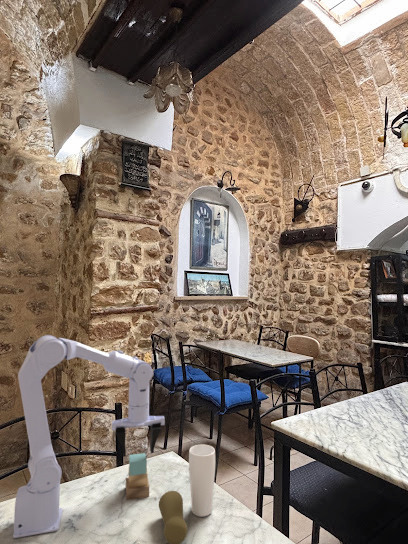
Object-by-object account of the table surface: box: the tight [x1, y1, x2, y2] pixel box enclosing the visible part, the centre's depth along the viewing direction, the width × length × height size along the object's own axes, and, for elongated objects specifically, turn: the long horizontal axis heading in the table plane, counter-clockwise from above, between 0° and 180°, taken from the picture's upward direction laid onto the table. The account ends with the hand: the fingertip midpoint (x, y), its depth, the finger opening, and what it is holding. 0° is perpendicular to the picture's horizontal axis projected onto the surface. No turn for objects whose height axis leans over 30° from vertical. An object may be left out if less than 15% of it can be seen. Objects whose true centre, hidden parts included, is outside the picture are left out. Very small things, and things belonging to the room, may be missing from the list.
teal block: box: [128, 452, 148, 476], centre depth 94 cm, size 4×4×4 cm
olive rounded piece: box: [158, 490, 188, 544], centre depth 78 cm, size 6×6×11 cm
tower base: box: [125, 476, 150, 501], centre depth 93 cm, size 6×6×3 cm
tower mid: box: [128, 471, 148, 487], centre depth 93 cm, size 5×5×3 cm
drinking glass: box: [188, 443, 216, 518], centre depth 85 cm, size 7×7×15 cm
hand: (138, 453), depth 94 cm, fingers open, 7 cm apart
